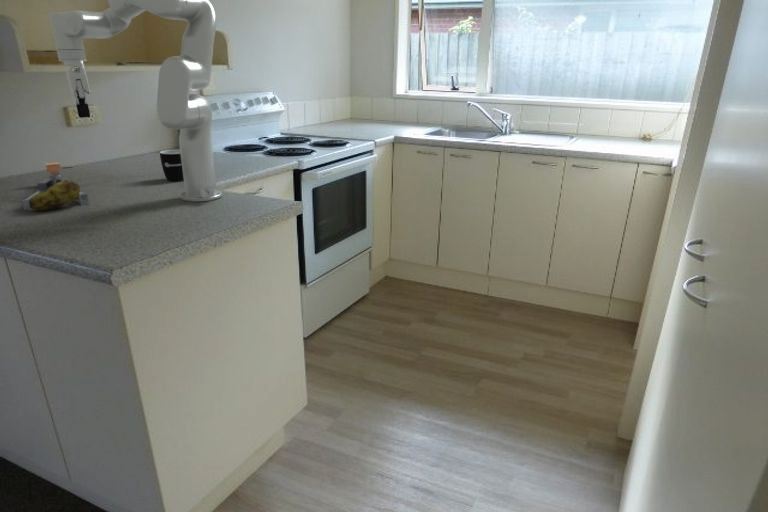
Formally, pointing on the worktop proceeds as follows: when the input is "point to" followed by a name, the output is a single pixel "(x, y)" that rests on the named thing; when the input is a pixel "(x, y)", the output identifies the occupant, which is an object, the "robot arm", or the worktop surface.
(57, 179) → the tongs jaw
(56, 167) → the tab
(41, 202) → the potato
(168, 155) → the mug
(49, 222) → the worktop surface
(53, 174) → the tongs fixed
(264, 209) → the worktop surface
